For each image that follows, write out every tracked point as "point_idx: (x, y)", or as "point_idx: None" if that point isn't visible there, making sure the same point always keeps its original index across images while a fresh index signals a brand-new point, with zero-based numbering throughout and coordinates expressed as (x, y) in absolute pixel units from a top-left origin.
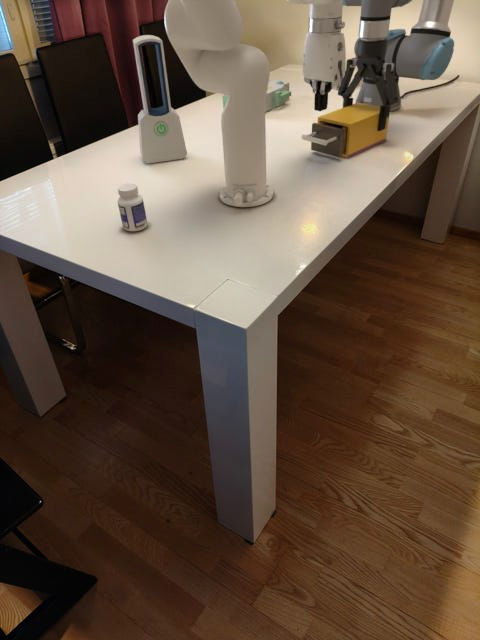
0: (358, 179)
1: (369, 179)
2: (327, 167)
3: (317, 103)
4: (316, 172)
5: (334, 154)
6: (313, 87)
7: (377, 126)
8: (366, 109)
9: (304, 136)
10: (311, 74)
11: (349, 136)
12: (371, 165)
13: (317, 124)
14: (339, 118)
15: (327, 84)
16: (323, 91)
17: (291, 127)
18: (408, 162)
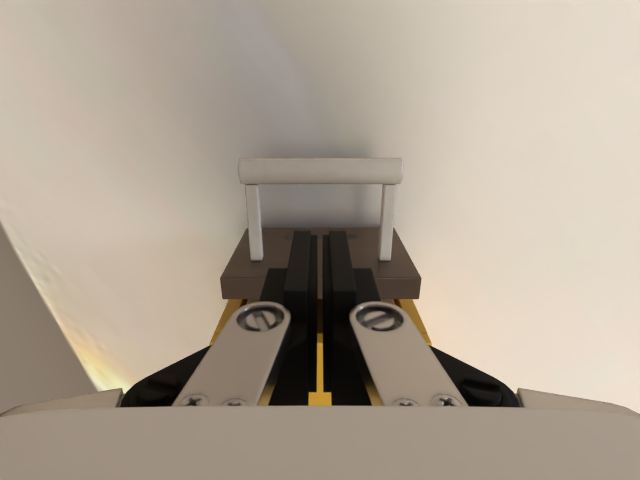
0: (54, 114)
1: (29, 142)
2: (234, 139)
3: (323, 259)
4: (227, 60)
5: (270, 230)
6: (403, 338)
7: None
8: None
9: (385, 163)
10: (491, 467)
11: (225, 309)
12: (133, 259)
13: (387, 284)
14: (320, 381)
15: (170, 405)
16: (236, 324)
17: (622, 388)
18: (73, 348)
